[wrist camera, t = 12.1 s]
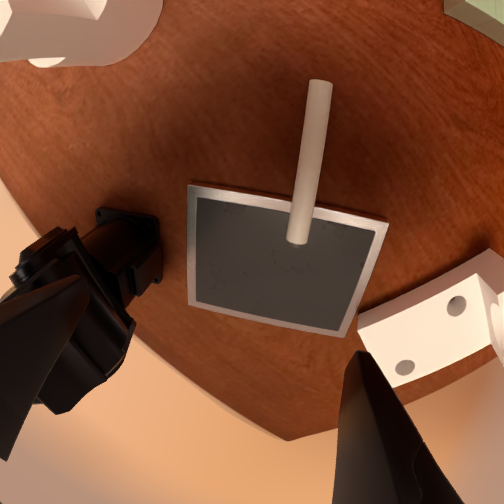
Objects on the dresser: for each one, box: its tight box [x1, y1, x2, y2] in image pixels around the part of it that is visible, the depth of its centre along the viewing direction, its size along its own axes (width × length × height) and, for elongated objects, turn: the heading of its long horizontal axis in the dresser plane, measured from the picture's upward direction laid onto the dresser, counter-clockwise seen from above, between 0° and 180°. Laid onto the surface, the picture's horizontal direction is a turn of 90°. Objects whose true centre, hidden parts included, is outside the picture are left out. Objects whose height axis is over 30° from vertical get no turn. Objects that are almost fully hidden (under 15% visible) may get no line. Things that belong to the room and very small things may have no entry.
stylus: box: [286, 79, 333, 248], centre depth 16 cm, size 1×1×11 cm
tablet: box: [187, 181, 389, 338], centre depth 21 cm, size 14×11×1 cm
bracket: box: [357, 248, 504, 388], centre depth 18 cm, size 13×7×8 cm, turn 127°
